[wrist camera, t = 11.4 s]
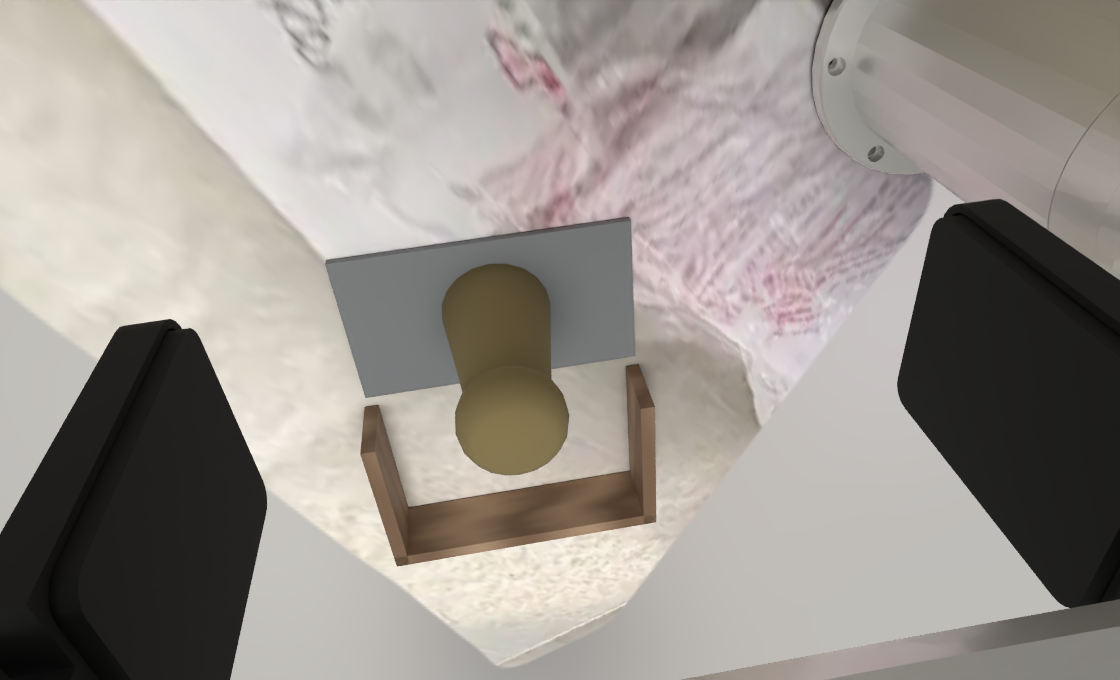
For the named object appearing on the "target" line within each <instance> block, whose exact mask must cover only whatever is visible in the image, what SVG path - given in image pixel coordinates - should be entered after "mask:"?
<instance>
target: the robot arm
mask: <svg viewBox="0 0 1120 680" xmlns="http://www.w3.org/2000/svg"><path fill="white" fill-rule="evenodd" d="M832 60H833V62H832V64H831V65H830V66H828V65H829V63H830V62H831V61H832ZM812 82H813V96H814V101H815V105H816V109H817V114H818V116H819V118H820V120H821V122H822V124H823V126H824V128H825V131H826V133H827V134H828V135H829V136H830V138H831V139H832V140H833V141H834V142H835V144H836V145H837V146H838V147H839V148H840V149H841V150H842V151H844V152H845V153H846V154H847V155H849V156H850V157H851V158H852V159H853V160H855V161H857V162H858V163H860V164H862V165H863V166H865V167H867V168H869V169H873V170H877V171H880V172H884V173H888V174H903V175H912V174H919V173H927V174H928V175H929V176H931V177H932V178H933V179H935V180H936V181H937V182H939V183H940V184H941V185H943V186H944V187H946V188H947V189H948V190H949V191H951V192H952V193H953V194H955V195H956V196H957V197H959V198H960V199H961V200H963V201H964V202H965V203H964V204H956V205H953V206H952V207H950V208H949V209H948V210H947V212H946V213H945V214H944V217H943V218H940V219H939V220H937V221H936V222H935V224H934V225H933V228H932V231H931V235H930V239H929V244H928V248H927V252H926V257H925V261H924V266H923V270H922V275H921V279H920V283H919V288H918V292H917V297H916V301H915V305H914V310H913V315H912V319H911V323H910V328H909V332H908V336H907V341H906V345H905V349H904V354H903V359H902V363H901V367H900V371H899V376H898V382H897V387H898V394H899V397H900V400H901V402H902V404H903V406H904V407H905V409H906V410H907V411H908V413H909V414H910V415H911V416H912V418H913V419H914V420H915V422H916V423H917V424H918V425H919V427H920V428H921V429H922V430H923V432H924V433H925V434H926V436H927V437H928V438H929V439H930V440H931V442H932V443H933V444H934V446H935V447H936V448H937V450H938V451H939V452H940V453H941V455H942V456H943V457H944V458H945V460H946V461H947V462H948V464H949V465H950V466H951V467H952V469H953V470H954V471H955V472H956V474H957V475H958V476H959V477H960V478H961V480H962V481H963V483H964V484H965V485H966V486H967V488H968V489H969V490H970V492H971V493H972V494H973V495H974V496H975V498H976V499H977V500H978V502H979V503H980V504H981V506H982V507H983V508H984V509H985V510H986V512H987V513H988V514H989V516H990V517H991V518H992V519H993V521H994V522H995V523H996V525H997V526H998V527H999V528H1000V530H1001V531H1002V532H1003V533H1004V535H1005V536H1006V537H1007V539H1008V540H1009V541H1010V542H1011V544H1012V545H1013V546H1014V548H1015V549H1016V550H1017V551H1018V553H1019V554H1020V555H1021V556H1022V558H1023V559H1024V560H1025V562H1026V563H1027V564H1028V565H1029V567H1030V568H1031V569H1032V570H1033V572H1034V573H1035V574H1036V576H1037V577H1038V578H1039V579H1040V580H1041V582H1042V583H1043V584H1044V586H1045V587H1046V588H1047V590H1048V591H1049V592H1050V593H1051V595H1052V596H1053V597H1054V598H1055V599H1056V600H1057V601H1058V602H1059V603H1060V604H1062V605H1064V606H1065V607H1069V608H1070V609H1064V610H1058V611H1053V612H1047V613H1042V614H1037V615H1031V616H1026V617H1020V618H1015V619H1009V620H1003V621H998V622H992V623H987V624H981V625H975V626H970V627H964V628H959V629H954V630H948V631H942V632H937V633H932V634H925V635H920V636H915V637H909V638H904V639H898V640H893V641H887V642H883V643H877V644H871V645H866V646H861V647H855V648H849V649H844V650H839V651H833V652H828V653H823V654H818V655H812V656H806V657H801V658H796V659H790V660H785V661H779V662H774V663H768V664H763V665H758V666H753V667H747V668H742V669H736V670H731V671H726V672H720V673H715V674H710V675H705V676H699V677H694V678H689V679H683V680H1120V0H833V2H832V4H831V6H830V8H829V10H828V12H827V14H826V16H825V18H824V21H823V24H822V28H821V31H820V34H819V37H818V40H817V43H816V48H815V54H814V61H813V67H812ZM266 510H267V496H266V490H265V485H264V483H263V480H262V478H261V475H260V473H259V471H258V469H257V466H256V464H255V462H254V460H253V457H252V455H251V453H250V450H249V448H248V446H247V444H246V441H245V439H244V437H243V435H242V432H241V430H240V428H239V426H238V423H237V421H236V419H235V417H234V414H233V412H232V410H231V407H230V405H229V403H228V401H227V398H226V396H225V394H224V392H223V389H222V387H221V385H220V383H219V380H218V378H217V376H216V374H215V371H214V369H213V367H212V364H211V362H210V360H209V358H208V355H207V353H206V351H205V349H204V346H203V344H202V342H201V340H200V338H199V336H198V334H197V333H196V332H195V331H194V330H193V329H191V328H188V329H182V328H181V327H180V325H179V324H178V323H177V322H176V321H174V320H172V319H167V320H161V321H154V322H147V323H140V324H133V325H126V326H122V327H119V328H118V330H117V331H116V332H115V333H114V335H113V337H112V339H111V340H110V342H109V344H108V346H107V347H106V349H105V351H104V353H103V355H102V356H101V358H100V360H99V362H98V363H97V365H96V367H95V369H94V370H93V372H92V374H91V376H90V378H89V379H88V381H87V383H86V384H85V386H84V388H83V390H82V392H81V393H80V395H79V397H78V398H77V400H76V402H75V404H74V405H73V407H72V409H71V411H70V412H69V414H68V416H67V418H66V419H65V421H64V423H63V425H62V427H61V428H60V430H59V432H58V434H57V435H56V437H55V439H54V441H53V442H52V444H51V446H50V448H49V449H48V451H47V453H46V455H45V457H44V458H43V460H42V462H41V463H40V465H39V467H38V469H37V471H36V472H35V474H34V476H33V478H32V480H31V481H30V483H29V484H28V486H27V488H26V490H25V492H24V493H23V495H22V497H21V498H20V500H19V502H18V504H17V506H16V507H15V509H14V511H13V513H12V514H11V516H10V518H9V520H8V521H7V523H6V525H5V527H4V528H3V530H2V532H1V534H0V680H230V677H231V673H232V668H233V663H234V658H235V654H236V650H237V645H238V640H239V636H240V631H241V626H242V622H243V617H244V612H245V608H246V603H247V599H248V594H249V589H250V585H251V580H252V576H253V571H254V566H255V561H256V557H257V552H258V548H259V543H260V539H261V534H262V530H263V525H264V520H265V516H266Z"/></svg>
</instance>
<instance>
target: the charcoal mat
mask: <svg viewBox="0 0 1120 680" xmlns="http://www.w3.org/2000/svg"><path fill="white" fill-rule="evenodd" d="M486 264H510V265H513V266H517V267H520V268H524V269H525V270H527V271H528V272H530V273H531V274H533V275H534V276H536V277H537V278H538V279H539V281H540V282H541V283H542V284H543V286H544V287H545V288H546V291H547V294H548V297H549V300H550V323H551V369H555V368H561V367H568V366H574V365H581V364H587V363H594V362H600V361H606V360H613V359H619V358H626V357H632V356H635V342H634V309H633V277H632V245H631V220H630V218H629V217H628V218H621V219H614V220H607V221H600V222H593V223H586V224H579V225H572V226H565V227H558V228H551V229H544V230H537V231H530V232H523V233H516V234H509V235H502V236H495V237H488V238H481V239H474V240H467V241H460V242H453V243H446V244H439V245H432V246H425V247H418V248H411V249H404V250H397V251H390V252H383V253H376V254H369V255H362V256H355V257H348V258H341V259H333V260H326V263H325V265H326V268H327V272H328V275H329V278H330V282H331V285H332V288H333V292H334V295H335V298H336V302H337V305H338V308H339V312H340V315H341V318H342V321H343V325H344V328H345V331H346V335H347V338H348V341H349V345H350V348H351V351H352V355H353V358H354V361H355V365H356V368H357V371H358V374H359V378H360V381H361V384H362V388H363V391H364V394H365V398H368V397H375V396H381V395H388V394H394V393H401V392H407V391H413V390H420V389H426V388H433V387H439V386H446V385H452V384H458V383H460V381H459V378H458V374H457V371H456V367H455V363H454V360H453V356H452V353H451V349H450V346H449V342H448V339H447V335H446V332H445V328H444V324H443V321H442V303H443V300H444V297H445V294H446V292H447V290H448V289H449V287H450V286H451V285H452V284H453V283H454V281H455V280H456V279H457V278H458V277H460V276H461V275H463V274H464V273H466V272H467V271H469V270H471V269H473V268H476V267H480V266H483V265H486Z"/></svg>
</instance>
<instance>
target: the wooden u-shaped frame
mask: <svg viewBox="0 0 1120 680" xmlns="http://www.w3.org/2000/svg"><path fill="white" fill-rule="evenodd" d="M626 384H627V409H628V433H629V458H630V471H627V472H621V473H615V474H609V475H603V476H597V477H591V478H585V479H579V480H573V481H567V482H561V483H555V484H549V485H543V486H537V487H531V488H525V489H519V490H513V491H507V492H501V493H495V494H489V495H482V496H476V497H470V498H464V499H458V500H452V501H446V502H440V503H434V504H428V505H422V506H416V507H410V508H408V505H407V502H406V498H405V495H404V492H403V488H402V485H401V481H400V478H399V474H398V471H397V468H396V464H395V461H394V457H393V454H392V450H391V447H390V444H389V440H388V437H387V433H386V430H385V426H384V423H383V420H382V416H381V413H380V409H379V406H378V405H376V406H370V407H365V410H364V421H363V432H362V443H361V453H360V454H361V457H362V460H363V463H364V466H365V470H366V473H367V476H368V479H369V482H370V485H371V488H372V491H373V494H374V497H375V500H376V503H377V506H378V509H379V513H380V516H381V519H382V522H383V525H384V528H385V531H386V534H387V537H388V540H389V543H390V546H391V549H392V552H393V556H394V559H395V562H396V565H397V566H403V565H408V564H414V563H420V562H426V561H432V560H438V559H444V558H449V557H455V556H461V555H467V554H473V553H479V552H484V551H490V550H496V549H502V548H508V547H514V546H519V545H525V544H531V543H537V542H543V541H549V540H555V539H560V538H566V537H572V536H578V535H584V534H590V533H595V532H601V531H607V530H613V529H619V528H625V527H631V526H636V525H642V524H648V523H654V522H656V467H655V406H654V403H653V401H652V398H651V396H650V393H649V390H648V388H647V385H646V382H645V380H644V377H643V374H642V372H641V369H640V367H639V365H632V366H626Z"/></svg>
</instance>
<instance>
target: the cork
mask: <svg viewBox="0 0 1120 680" xmlns="http://www.w3.org/2000/svg"><path fill="white" fill-rule="evenodd" d="M442 321H443V324H444V328H445V332H446V335H447V339H448V342H449V346H450V349H451V353H452V356H453V360H454V363H455V367H456V371H457V374H458V378H459V381H460V385H461V388H462V392H463V393H462V395H461V398H460V400H459V403H458V405H457V408H456V411H455V426H456V436H457V438H458V440H459V442H460V445H461V447H462V449H463V451H464V453H465V454H466V455H467V456H468V457H469V458H470V459H471V460H472V461H473V462H474V463H475V464H476V465H478V466H479V467H481V468H483V469H485V470H487V471H489V472H491V473H496V474H501V475H520V474H524V473H528V472H531V471H535V470H537V469H538V468H540V467H542V466H544V465H545V464H547V463H548V462H549V461H550V460H551V459H552V458H553V457H554V456H555V455H557V453H558V452H559V450H560V449H561V447H562V445H563V443H564V441H565V439H566V437H567V432H568V423H569V413H568V409H567V405H566V402H565V399H564V396H563V394H562V392H561V391H560V390H559V388H558V387H557V386H556V384H555V383H554V382H553V381H552V380H551V323H550V300H549V297H548V294H547V291H546V288H545V287H544V286H543V284H542V283H541V282H540V281H539V279H538V278H537V277H536V276H534V275H533V274H531V273H530V272H528V271H527V270H525V269H524V268H520V267H517V266H513V265H510V264H486V265H483V266H480V267H476V268H473V269H471V270H469V271H467V272H466V273H464V274H463V275H461V276H460V277H458V278H457V279H456V280H455V281H454V283H453V284H452V285H451V286H450V287H449V289H448V290H447V292H446V294H445V297H444V300H443V303H442Z"/></svg>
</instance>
